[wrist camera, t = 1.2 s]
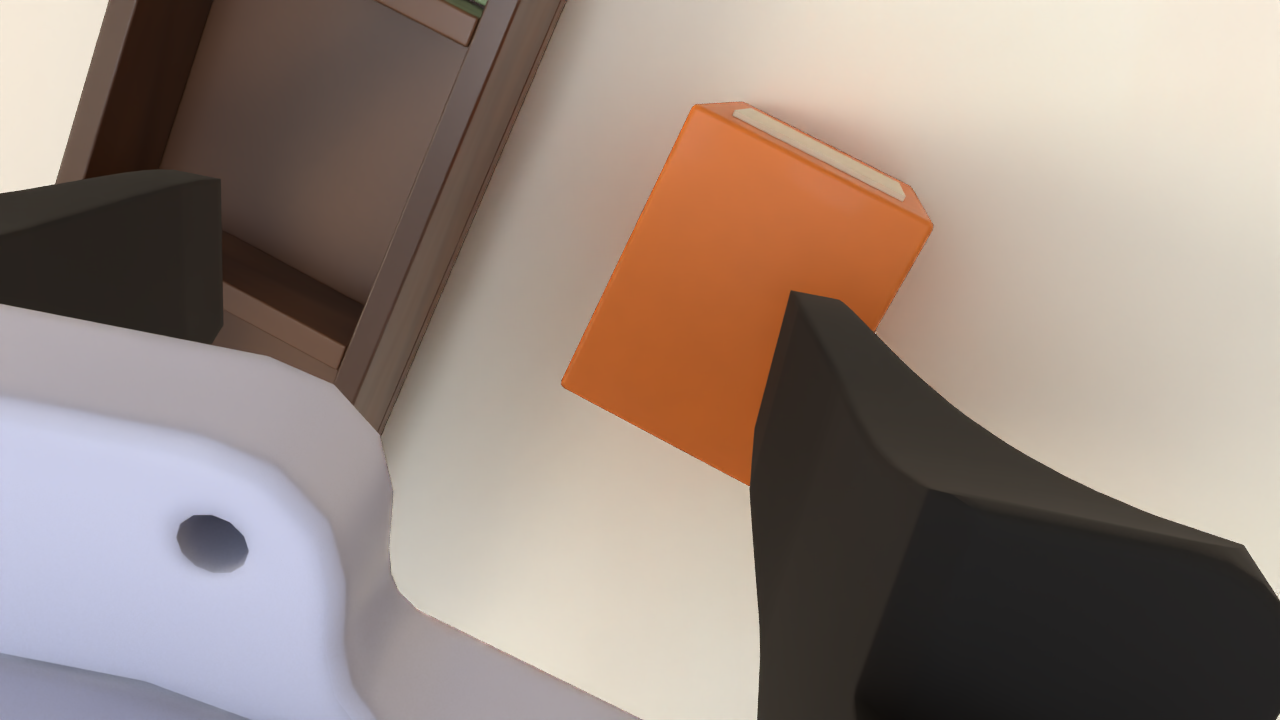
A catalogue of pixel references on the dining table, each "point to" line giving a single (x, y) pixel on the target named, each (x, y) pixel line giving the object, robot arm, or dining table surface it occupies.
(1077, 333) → the dining table surface
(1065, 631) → the robot arm
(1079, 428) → the dining table surface
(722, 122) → the orange block
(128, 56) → the organizer
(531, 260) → the dining table surface
